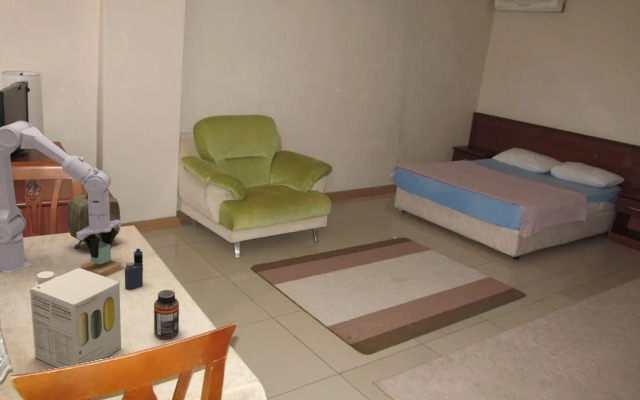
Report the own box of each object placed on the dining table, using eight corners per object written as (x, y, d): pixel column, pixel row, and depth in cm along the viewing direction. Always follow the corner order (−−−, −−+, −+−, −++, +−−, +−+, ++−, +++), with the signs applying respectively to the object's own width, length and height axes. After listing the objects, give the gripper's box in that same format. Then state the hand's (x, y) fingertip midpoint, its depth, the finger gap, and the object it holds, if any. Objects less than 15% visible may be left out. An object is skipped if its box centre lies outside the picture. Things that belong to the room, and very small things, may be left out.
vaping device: (144, 287, 154) (144, 249, 150) (127, 292, 150) (127, 254, 146) (140, 284, 155) (140, 246, 152) (123, 289, 151) (122, 250, 148)
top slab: (81, 269, 159) (80, 265, 158) (102, 261, 166) (102, 256, 165) (100, 277, 156) (99, 272, 155) (121, 268, 163) (121, 263, 162)
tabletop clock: (108, 238, 185) (106, 169, 177) (123, 246, 180) (122, 175, 173) (68, 249, 174) (64, 176, 166) (83, 257, 169) (80, 183, 161)
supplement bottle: (156, 326, 135) (156, 286, 131) (180, 327, 135) (181, 287, 132) (151, 339, 129) (151, 298, 126) (176, 340, 130) (176, 299, 126)
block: (90, 260, 159) (90, 245, 158) (101, 256, 162) (101, 241, 161) (100, 264, 157) (99, 248, 156) (110, 259, 161) (110, 244, 159)
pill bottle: (49, 314, 135) (47, 280, 132) (31, 311, 136) (28, 277, 133) (63, 305, 140) (61, 272, 138) (45, 301, 141) (43, 268, 138)
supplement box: (76, 377, 113) (72, 305, 108) (33, 358, 118) (28, 287, 113) (122, 348, 125) (121, 281, 119) (82, 331, 130) (79, 266, 125)
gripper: (87, 222, 147) (89, 266, 151) (128, 209, 160) (128, 250, 164) (70, 216, 150) (72, 259, 154) (111, 204, 163) (112, 245, 167)
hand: (100, 254), depth 159 cm, fingers closed on block, 4 cm apart
